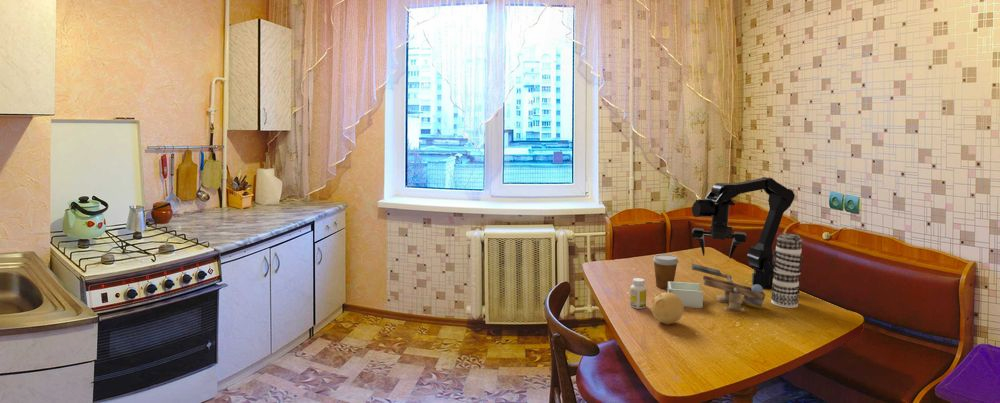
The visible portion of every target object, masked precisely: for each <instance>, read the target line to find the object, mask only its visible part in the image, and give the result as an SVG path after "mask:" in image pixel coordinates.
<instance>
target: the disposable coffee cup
mask: <svg viewBox="0 0 1000 403" xmlns="http://www.w3.org/2000/svg"><path fill="white" fill-rule="evenodd" d="M652 262H653V265H654V277H655V286H656V287H657V288H659V289H663V290H667V289H668V281H671V282H675V276H676V271H677V267H678V266H677V265H678V263H679V259H678V257H677V255H673V254H668V253H667V254H666V253H665V254H664V253H660V254H659V253H658V254H655V255H654V256H653V259H652Z"/></svg>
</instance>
